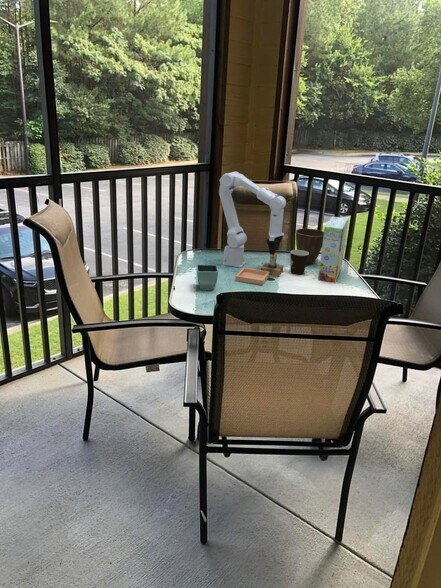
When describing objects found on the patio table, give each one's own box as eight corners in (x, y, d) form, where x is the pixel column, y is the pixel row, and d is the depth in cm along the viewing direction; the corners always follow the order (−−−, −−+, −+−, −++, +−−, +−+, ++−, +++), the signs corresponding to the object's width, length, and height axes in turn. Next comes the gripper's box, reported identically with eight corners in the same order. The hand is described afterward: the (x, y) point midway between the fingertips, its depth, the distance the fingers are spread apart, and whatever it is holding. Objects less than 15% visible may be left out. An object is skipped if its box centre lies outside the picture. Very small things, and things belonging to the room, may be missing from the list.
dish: (235, 280, 205) (235, 275, 204) (243, 272, 216) (243, 267, 215) (262, 285, 201) (262, 280, 200) (269, 276, 212) (269, 271, 211)
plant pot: (295, 256, 243) (299, 226, 237) (323, 260, 238) (328, 230, 232) (289, 264, 230) (292, 233, 224) (318, 269, 225) (323, 237, 219)
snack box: (324, 266, 230) (331, 215, 220) (341, 269, 227) (350, 218, 217) (316, 280, 211) (324, 225, 201) (335, 283, 209) (344, 228, 199)
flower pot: (195, 283, 199) (196, 264, 196) (215, 284, 200) (217, 264, 197) (196, 291, 191) (197, 271, 188) (217, 291, 192) (218, 271, 189)
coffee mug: (305, 276, 215) (308, 256, 211) (287, 274, 216) (289, 254, 212) (306, 268, 225) (309, 249, 221) (289, 266, 227) (291, 247, 223)
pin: (267, 272, 217) (269, 254, 213) (269, 270, 219) (271, 252, 216) (274, 273, 216) (275, 255, 213) (275, 271, 219) (277, 253, 215)
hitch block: (260, 273, 215) (260, 267, 214) (264, 268, 223) (265, 262, 222) (278, 276, 213) (279, 270, 211) (282, 270, 220) (283, 265, 219)
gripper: (281, 228, 201) (278, 257, 206) (288, 221, 214) (285, 249, 219) (265, 226, 203) (263, 255, 208) (273, 219, 216) (271, 247, 221)
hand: (273, 252), depth 214 cm, fingers open, 7 cm apart
